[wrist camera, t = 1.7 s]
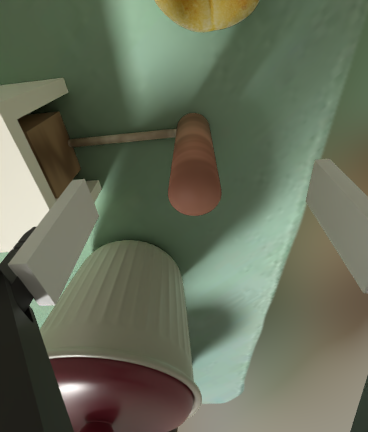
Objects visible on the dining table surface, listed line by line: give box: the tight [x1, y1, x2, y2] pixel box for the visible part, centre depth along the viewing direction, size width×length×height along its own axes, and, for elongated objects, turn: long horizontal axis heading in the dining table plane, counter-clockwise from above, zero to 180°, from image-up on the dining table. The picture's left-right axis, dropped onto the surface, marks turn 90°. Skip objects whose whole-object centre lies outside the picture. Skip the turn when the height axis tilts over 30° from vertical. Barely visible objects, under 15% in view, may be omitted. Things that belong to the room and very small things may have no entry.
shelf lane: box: [0, 78, 102, 252], centre depth 22 cm, size 11×10×10 cm
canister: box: [40, 240, 202, 432], centre depth 28 cm, size 18×18×21 cm
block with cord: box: [17, 111, 221, 216], centre depth 21 cm, size 6×20×12 cm, turn 96°
